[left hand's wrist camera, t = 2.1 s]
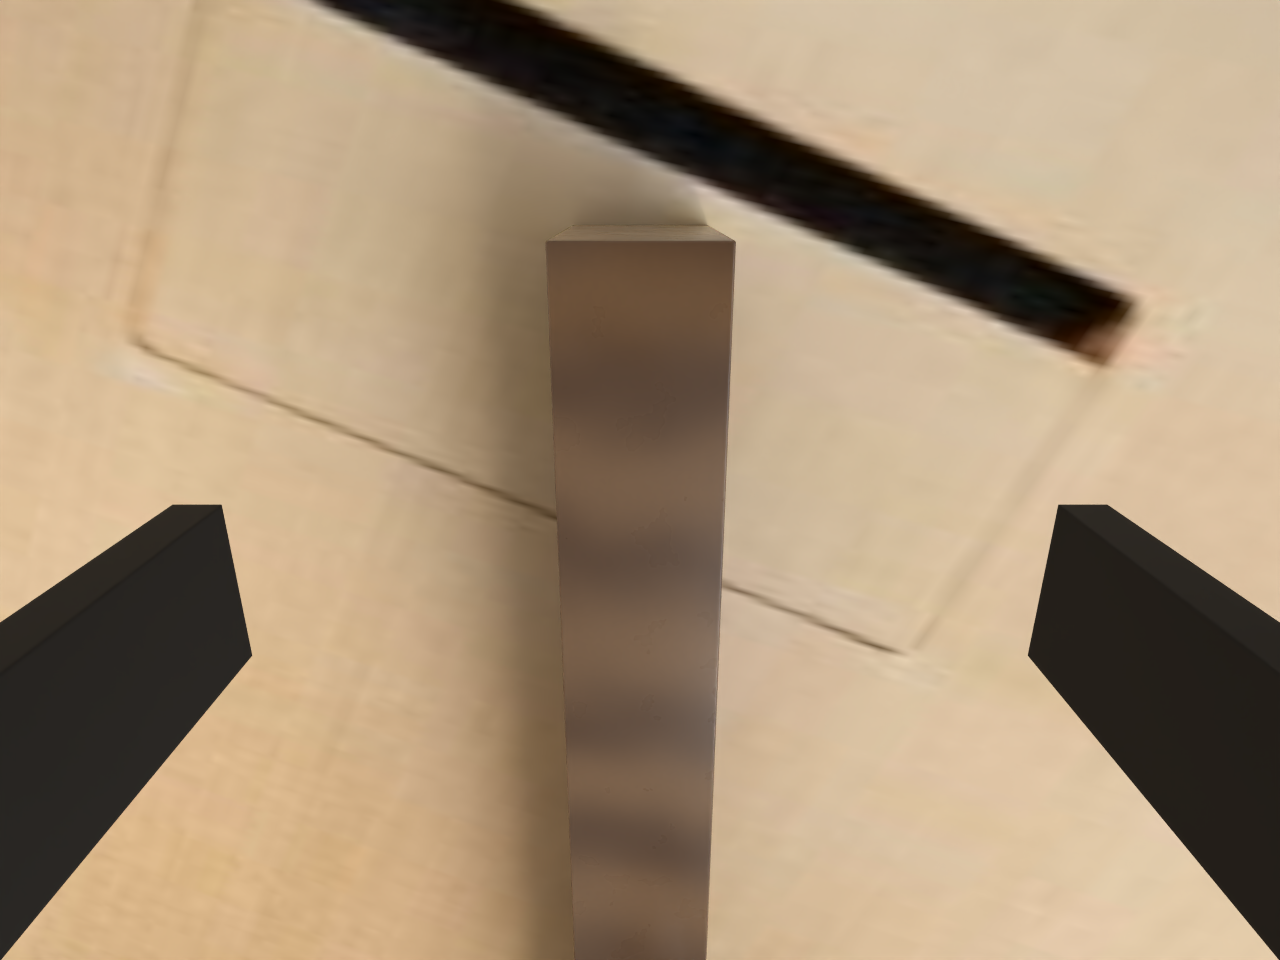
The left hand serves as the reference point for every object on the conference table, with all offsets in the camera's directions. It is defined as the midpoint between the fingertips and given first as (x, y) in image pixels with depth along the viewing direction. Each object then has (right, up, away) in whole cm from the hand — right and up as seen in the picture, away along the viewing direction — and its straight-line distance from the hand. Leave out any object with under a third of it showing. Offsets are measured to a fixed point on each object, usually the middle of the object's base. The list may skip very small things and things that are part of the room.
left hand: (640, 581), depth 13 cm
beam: (0, -24, +27) cm, 36 cm away
